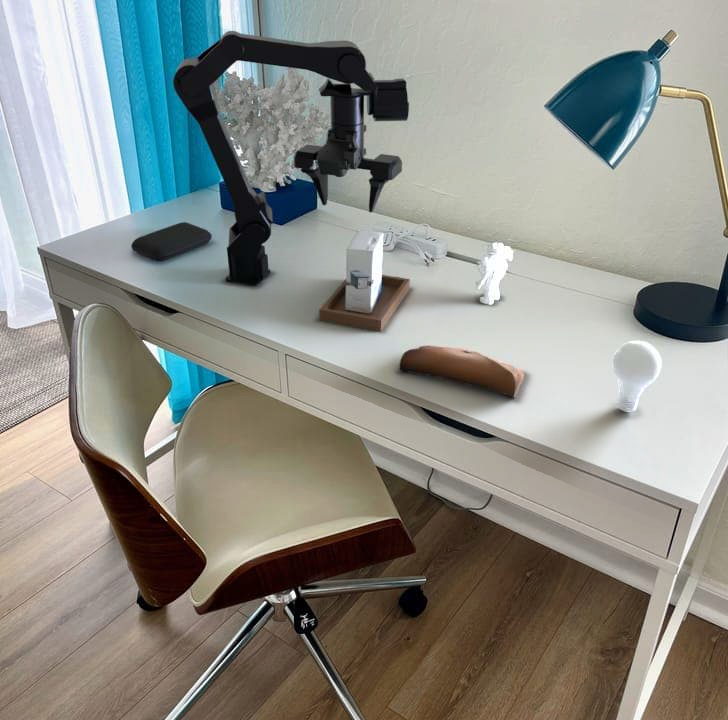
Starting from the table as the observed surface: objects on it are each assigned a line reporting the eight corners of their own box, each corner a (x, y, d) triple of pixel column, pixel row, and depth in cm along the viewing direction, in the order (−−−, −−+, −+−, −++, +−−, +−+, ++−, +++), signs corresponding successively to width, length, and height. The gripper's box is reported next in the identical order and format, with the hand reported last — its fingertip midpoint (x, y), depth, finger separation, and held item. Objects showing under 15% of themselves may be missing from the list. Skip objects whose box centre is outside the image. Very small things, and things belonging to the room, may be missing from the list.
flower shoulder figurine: (485, 311, 130) (492, 248, 123) (467, 304, 132) (472, 242, 125) (512, 294, 135) (520, 232, 129) (494, 287, 138) (501, 227, 131)
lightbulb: (603, 393, 109) (617, 329, 103) (648, 401, 107) (665, 336, 101) (601, 418, 104) (616, 351, 98) (648, 427, 102) (666, 360, 96)
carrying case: (183, 230, 158) (124, 251, 148) (181, 216, 156) (122, 237, 147) (216, 243, 153) (158, 266, 143) (215, 229, 151) (155, 251, 141)
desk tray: (319, 320, 126) (319, 309, 125) (353, 280, 139) (353, 269, 138) (381, 331, 123) (381, 320, 122) (409, 289, 136) (409, 279, 135)
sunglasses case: (527, 369, 113) (527, 348, 107) (515, 410, 110) (514, 390, 104) (417, 345, 118) (411, 323, 113) (403, 383, 116) (395, 363, 110)
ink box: (356, 289, 135) (356, 228, 129) (383, 292, 134) (384, 231, 128) (344, 311, 128) (344, 248, 121) (373, 314, 127) (374, 251, 121)
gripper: (277, 127, 123) (282, 215, 131) (382, 139, 118) (380, 231, 126) (305, 111, 132) (308, 196, 140) (404, 123, 127) (401, 209, 135)
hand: (347, 208), depth 135 cm, fingers open, 9 cm apart
